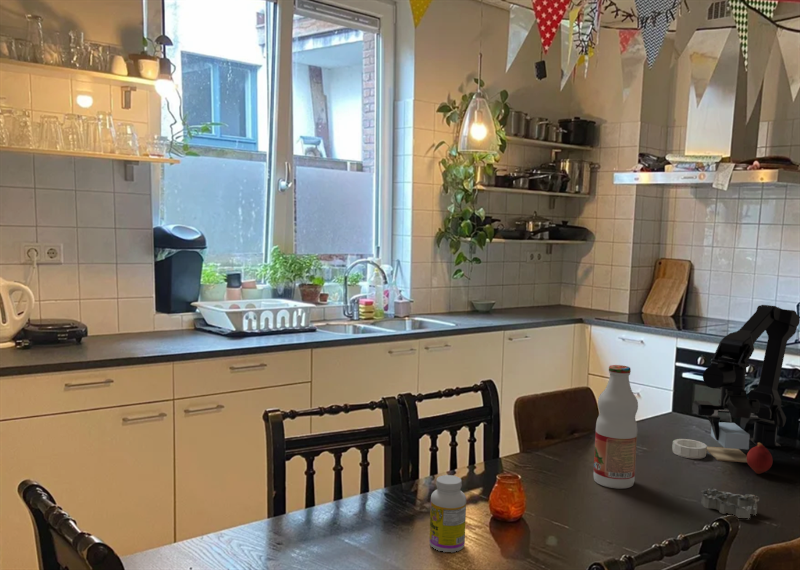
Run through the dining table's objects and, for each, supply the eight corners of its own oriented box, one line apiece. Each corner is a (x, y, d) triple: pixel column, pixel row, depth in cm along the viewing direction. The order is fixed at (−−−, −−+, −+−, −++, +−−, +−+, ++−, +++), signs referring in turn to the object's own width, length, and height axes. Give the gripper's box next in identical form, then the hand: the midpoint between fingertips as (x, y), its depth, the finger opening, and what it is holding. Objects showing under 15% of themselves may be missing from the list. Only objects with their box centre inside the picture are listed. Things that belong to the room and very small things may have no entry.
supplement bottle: (427, 538, 132) (429, 472, 131) (461, 537, 132) (463, 472, 131) (431, 554, 125) (433, 486, 124) (467, 554, 126) (470, 485, 125)
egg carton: (761, 515, 148) (762, 496, 147) (744, 523, 143) (745, 504, 143) (713, 498, 156) (715, 481, 156) (695, 505, 152) (697, 487, 151)
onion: (765, 470, 175) (767, 439, 175) (775, 478, 170) (778, 446, 169) (741, 469, 176) (744, 438, 175) (751, 477, 170) (753, 445, 170)
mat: (704, 447, 193) (704, 446, 193) (737, 449, 192) (737, 448, 192) (717, 460, 182) (717, 459, 182) (753, 462, 181) (753, 461, 181)
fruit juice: (623, 492, 158) (630, 372, 155) (585, 481, 164) (591, 366, 162) (640, 482, 164) (647, 367, 162) (604, 472, 171) (610, 361, 168)
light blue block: (710, 435, 192) (711, 421, 192) (733, 436, 192) (734, 422, 191) (724, 448, 182) (725, 433, 181) (748, 449, 181) (749, 434, 181)
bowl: (668, 447, 192) (669, 438, 192) (700, 449, 191) (700, 440, 191) (677, 457, 183) (678, 447, 183) (710, 459, 183) (711, 449, 182)
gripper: (706, 389, 178) (703, 447, 180) (782, 392, 176) (778, 452, 178) (693, 379, 189) (690, 435, 191) (764, 383, 187) (760, 439, 189)
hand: (729, 440), depth 187 cm, fingers closed on light blue block, 6 cm apart
